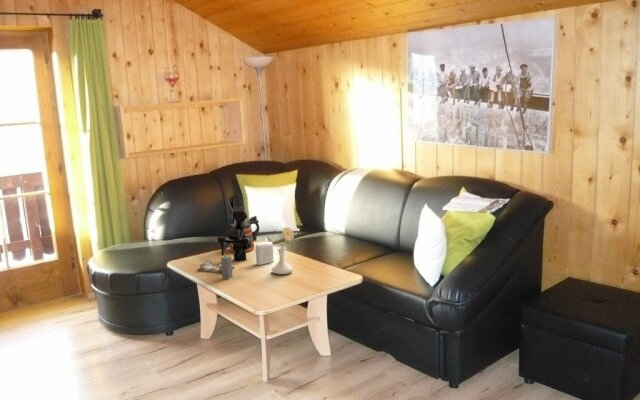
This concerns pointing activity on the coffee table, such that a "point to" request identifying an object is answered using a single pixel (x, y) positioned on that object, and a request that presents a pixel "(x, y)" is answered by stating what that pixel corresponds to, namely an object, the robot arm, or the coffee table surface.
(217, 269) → the board
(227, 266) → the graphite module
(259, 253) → the photo printer
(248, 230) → the beer stein
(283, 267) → the flower in vase
